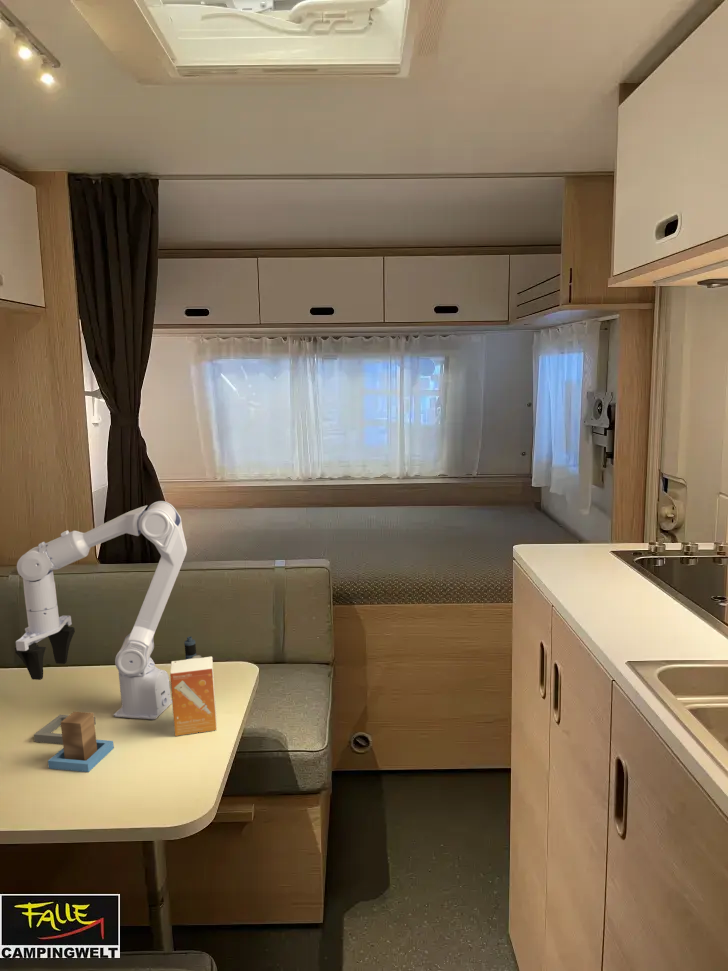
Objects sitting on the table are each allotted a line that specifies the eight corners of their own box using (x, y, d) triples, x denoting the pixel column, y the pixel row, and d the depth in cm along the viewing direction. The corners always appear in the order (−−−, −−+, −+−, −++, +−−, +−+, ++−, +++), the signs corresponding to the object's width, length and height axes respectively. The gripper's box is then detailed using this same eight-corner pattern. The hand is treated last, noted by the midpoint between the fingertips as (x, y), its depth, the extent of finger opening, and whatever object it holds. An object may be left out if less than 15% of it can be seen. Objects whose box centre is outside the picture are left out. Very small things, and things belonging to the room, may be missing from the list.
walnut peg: (97, 753, 129) (93, 712, 128) (85, 764, 125) (80, 723, 124) (78, 751, 130) (73, 711, 129) (65, 763, 126) (60, 722, 125)
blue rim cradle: (113, 748, 131) (113, 740, 131) (88, 772, 123) (87, 764, 123) (76, 745, 132) (75, 737, 132) (48, 768, 125) (47, 760, 125)
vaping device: (195, 685, 157) (191, 634, 155) (208, 691, 153) (204, 640, 151) (185, 688, 155) (181, 637, 153) (198, 696, 151) (193, 643, 149)
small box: (174, 737, 134) (169, 673, 132) (176, 721, 140) (170, 660, 138) (217, 731, 136) (212, 667, 134) (217, 715, 142) (212, 655, 140)
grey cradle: (95, 724, 140) (95, 717, 140) (71, 744, 133) (70, 737, 132) (60, 721, 142) (59, 714, 142) (34, 741, 134) (33, 734, 134)
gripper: (47, 595, 148) (54, 655, 150) (-2, 618, 134) (7, 685, 136) (77, 595, 146) (84, 657, 148) (31, 620, 132) (39, 687, 134)
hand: (49, 670), depth 142 cm, fingers open, 7 cm apart
